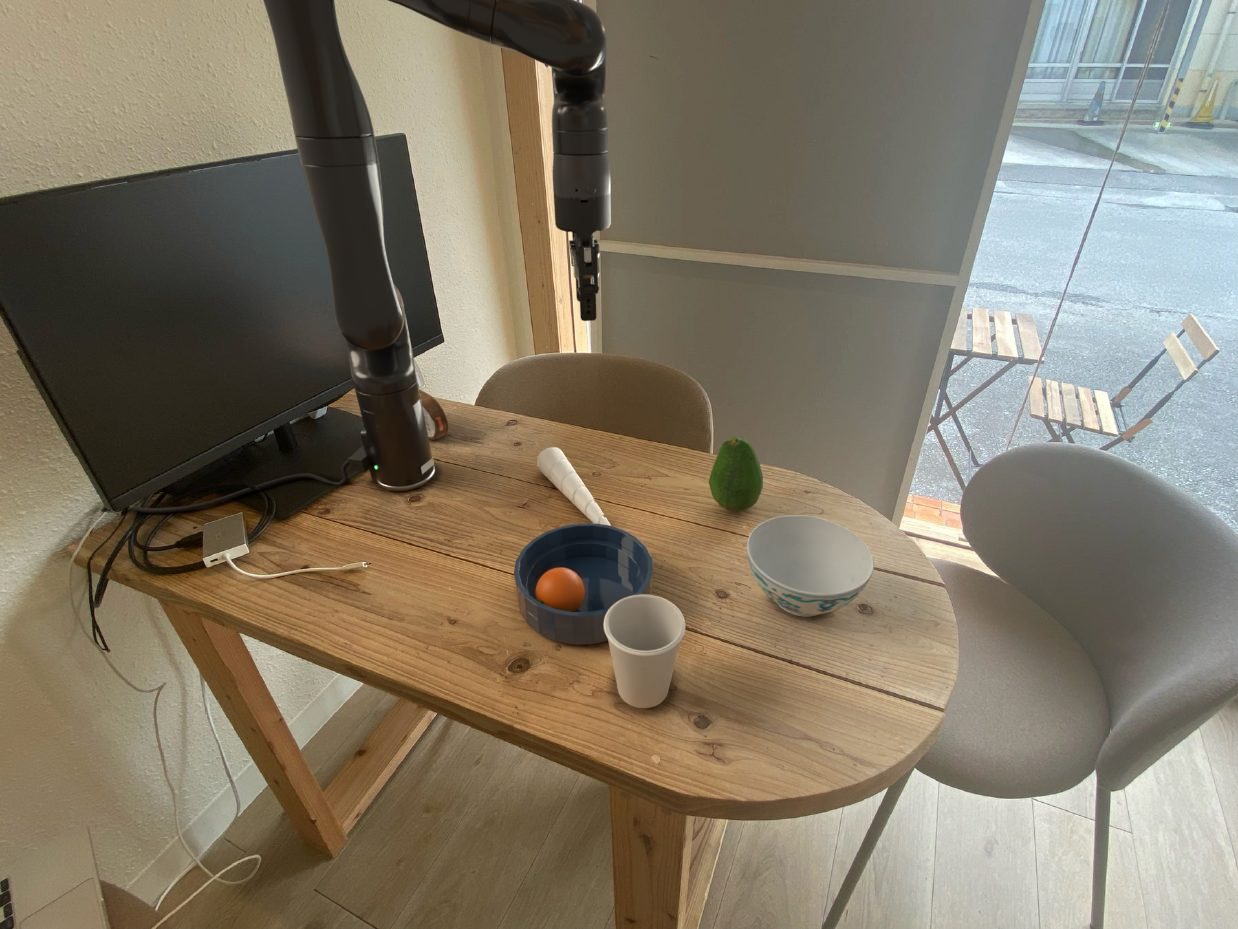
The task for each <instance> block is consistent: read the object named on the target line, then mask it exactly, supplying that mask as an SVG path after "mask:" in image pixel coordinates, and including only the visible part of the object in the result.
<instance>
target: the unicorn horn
mask: <svg viewBox="0 0 1238 929" xmlns="http://www.w3.org/2000/svg"><path fill="white" fill-rule="evenodd" d="M536 466H537V468H538V470H539V471H540V472H541V474H543V476H545V477H546V478H547V479H548V480H549V481H550V482H551V483H552V484H553V485H554V486H555V487H556V488H557V489H558V490H559V492H560V493H562V495H564V497H566V499H568V500H569V501H570V503H572V504H573V505H574V506H575V507H576V508H577V509H578V510H579V511H580V512H581V513H582V514H583V515H584V516H585V517H586V518H587V519H588V520H589V521H590V522H591V523H596V524H603V525H610V526H612V525H611V523H610V522H609V520H608V519H607V517H606V516H605V513H604V512H603V510H602V509H601V507H600V506H599V505H598V503H597V501H595V498H594V497H593V495H592V494H591V492H590V491H589V489H588V488H587V486H586V485H585V484H584V482H583V480H582V478H581V477H580V476H579V475H578V473H577V472H576V470H575V469H574V467H573V465H572V464H571V462H570V461H569V460H568V458H567V457H566V455H565V454H564V452H563V451H562V450H561V449H560V448H559V447H556V446H551V447H547V448H545V449H543V450H542V451H541V452H540V453H539V454H538V455H537V459H536Z"/></svg>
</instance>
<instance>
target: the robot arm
mask: <svg viewBox="0 0 1238 929" xmlns="http://www.w3.org/2000/svg"><path fill="white" fill-rule="evenodd" d="M387 1H388V2H390V3H393V4H396V5H398V6H402V7H404V8H406V9H409V10H410V11H413V12H415V13H417V14H419V15H420V16H421V15H422V16H423V17H426V18H427V19H429V20H431V21H433V22H436V23H438V24H440V25H442V26H444V27H446V28H449V29H450V30H454V31H455V32H459V33H461V34H462V35H466V36H468V37H471V38H474V39H476V40H479V41H482V42H484V43H486V44H490V45H492V46H495V47H498V48H500V49H501V48H502V49H505V50H510V51H515V52H516V53H517V52H518V53H520V54H522V55H524V56H525V57H528V58H530V59H532V60H534V61H537V62H539V63H541V64H542V65H543V64H544V65H546V66H547V67H550V68H551V81H552V94H553V105H552V110H551V136H552V152H553V153H552V157H553V158H552V188H553V206H554V223H555V227H556V228H557V229H558V230H559V231H563V232H566V233H571V234H572V240H571V239H569V240H568V250H569V254H570V262H571V266H572V269H573V277H574V279H575V294H576V295H575V296H576V300H577V302H579V315H580V316H579V317H580V320H581V321H582V322H591V321H593V322H594V321H596V320H597V294H599V291H600V286H599V276H600V264H599V263H600V262H599V257H600V252H601V251H600V243H598V239H595V238H594V234H595V233H596V232H602V231H605V230H607V229H609V228H610V226H611V225H612V214H611V212H612V211H611V210H612V208H611V207H612V206H611V204H612V203H611V200H612V199H611V167H610V166H611V165H610V160H609V133H608V132H609V131H608V130H609V129H608V116H607V108H606V75H607V73H606V71H607V33H606V29H605V25H604V23H603V21H602V19H601V17H600V15H599V14H598V13H597V12H596V11H595V9H593V8H592V7H590V6H589V5H587V4H585V3H583V2H580V1H577V0H387ZM262 2H263V4H264V7H265V11H266V14H267V18H268V21H269V25H270V28H271V32H272V37H273V38H274V43H275V48H276V53H277V58H278V62H279V69H280V72H281V78H282V82H283V86H284V91H285V96H286V100H287V104H288V108H289V113H290V114H289V115H290V118H291V126H292V130H293V134H294V140H295V144H296V148H297V152H298V157H299V161H300V166H301V170H302V173H303V176H304V181H305V184H306V186H307V187H306V188H307V191H308V196H309V199H310V202H311V205H312V206H311V207H312V209H313V212H314V216H315V218H316V221H317V225H318V227H319V231H320V234H321V237H322V240H323V243H324V247H325V251H326V257H327V262H328V268H329V276H330V277H329V278H330V283H331V292H332V303H333V304H332V305H333V317H334V322H335V326H336V327H337V329H338V331H339V332H340V334H341V335H342V336H343V337H344V340H345V344H346V350H347V355H348V362H349V372H350V376H351V381H352V384H353V388H354V391H355V396H356V398H357V403H358V404H357V405H358V407H359V410H360V416H361V420H362V423H363V427H364V428H363V429H362V430H361V431H360V438H361V439H360V440H361V442H362V446H360V447H359V448H358V449H357V450H356V451H355V452H354V453H353V454H352V455H350V456H349V457H348V458H347V460H346V461H344V463H342V465H341V469H340V470H341V474H342V478H343V479H341V480H340V481H337V482H336V481H332V480H329V479H327V478H325V477H322V476H320V475H317V474H315V473H308V472H307V473H296V474H291V475H285V476H283V477H279V478H275V479H272V480H269V481H265V482H263V483H260V484H257V485H255V486H256V487H258V488H259V489H258V490H262V489H264V488H267V487H270V486H273V485H276V484H280V483H283V482H286V481H291V480H295V479H296V480H297V479H305V478H306V479H313V480H315V481H319V482H322V483H327V484H333V485H335V486H344V485H345V484H346V483H347V482H348V481H349V475H348V472H347V468H348V466H349V468H350V471H355V472H362V473H366V471H369V474H370V478H371V481H372V483H374V484H377V485H378V486H379V487H380V488H382V489H383V490H386V491H389V492H407V491H411V490H415V489H418V488H421V487H423V486H425V485H426V484H428V483H429V482H431V481H432V480H433V479H434V477H435V475H436V467H435V461H434V460H435V459H434V457H433V455H432V449H431V443H430V439H429V438H428V433H427V427H426V422H425V417H424V412H423V406H422V401H421V396H420V391H419V389H420V387H419V381H418V376H417V370H416V364H415V359H414V352H413V347H412V342H411V341H412V340H411V338H410V332H409V325H408V321H407V315H406V309H405V305H404V301H403V300H404V299H403V297H402V294H401V292H400V291H399V289H398V287H397V286H396V285H395V284H394V280H393V277H392V273H391V269H390V265H389V261H388V256H387V250H386V242H385V226H384V225H385V222H384V220H385V219H384V200H383V199H384V197H383V186H382V185H383V184H382V175H381V166H380V158H379V154H378V148H377V141H376V136H375V131H374V126H373V121H372V118H371V114H370V110H369V108H368V105H367V102H366V99H365V97H364V94H363V91H362V89H361V86H360V84H359V81H358V79H357V76H356V73H355V71H354V70H353V68H352V65H351V63H350V60H349V57H348V55H347V53H346V49H345V46H344V43H343V40H342V36H341V32H340V29H339V24H338V17H337V12H336V11H337V10H336V5H335V4H336V3H335V0H262ZM250 492H255V491H254V490H252V489H250V487H246V488H244V489H241V490H239V491H238V490H237V491H235V492H231V493H229V494H227V495H224V496H222V497H218V498H215V499H212V500H209V501H208V500H207V501H203V502H200V503H195V504H190V505H183V506H173V507H150V508H149V507H141V506H138V505H137V506H136V505H133V506H134V507H132V508H131V509H128V510H129V511H133V512H138V513H144V514H160V513H161V514H163V513H176V512H177V513H178V512H186V511H191V510H197V509H201V508H206V507H209V506H213V505H217V504H220V503H222V502H226V501H228V500H231V499H233V498H237V497H240V496H242V495H245V494H248V493H250ZM108 510H109V509H107V508H106V507H105V505H103V507H102V508H101V510H100V512H101V513H103V512H105V513H106V512H107V511H108Z"/></svg>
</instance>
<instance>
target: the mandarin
mask: <svg viewBox="0 0 1238 929" xmlns="http://www.w3.org/2000/svg"><path fill="white" fill-rule="evenodd" d="M535 595H536V600H537V601H538V602H540V603H541V604H544V605H546V606H549V607H551V608H554V609H557V610H563V611H569V612H576V611H577V610H578V609H579V608H580V606H581V605H582V603H583V600H584V595H585V589H584V584H583V582H582V580H581V578H580V577H579V576H578V575H577V574H576V573H575V572H574V571H572V570H570V569H567V568H561V567H560V568H554V569H551V570H549V571H547V572H546V573H544V574H543V575H542V576H541V578H540V579H539V581H538V583H537V586H536V591H535Z"/></svg>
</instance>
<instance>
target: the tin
mask: <svg viewBox="0 0 1238 929" xmlns="http://www.w3.org/2000/svg"><path fill="white" fill-rule="evenodd" d="M419 391H420V396H421V401H422V406H423V412H424V417H425V422H426V427H427V433H428V438H429V440H432V441H433V440H434V441H436V440H437V439H440V438H442V437H443V436H446V435H448V433H449V431H450V430H449V420H448V418H447V415H446V413H445V411H444V409H443V407H442V405H441V404H440V402H438V401H437V399H436V398H435V397H434V396H433V395H431V394H429V393H428V392H426V391H423V390H422V389H420V388H419Z"/></svg>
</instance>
